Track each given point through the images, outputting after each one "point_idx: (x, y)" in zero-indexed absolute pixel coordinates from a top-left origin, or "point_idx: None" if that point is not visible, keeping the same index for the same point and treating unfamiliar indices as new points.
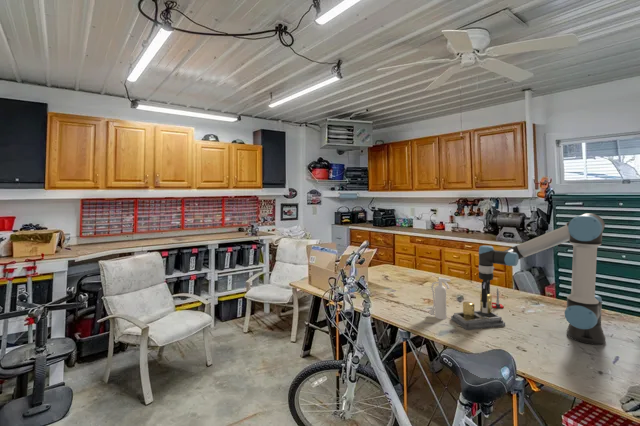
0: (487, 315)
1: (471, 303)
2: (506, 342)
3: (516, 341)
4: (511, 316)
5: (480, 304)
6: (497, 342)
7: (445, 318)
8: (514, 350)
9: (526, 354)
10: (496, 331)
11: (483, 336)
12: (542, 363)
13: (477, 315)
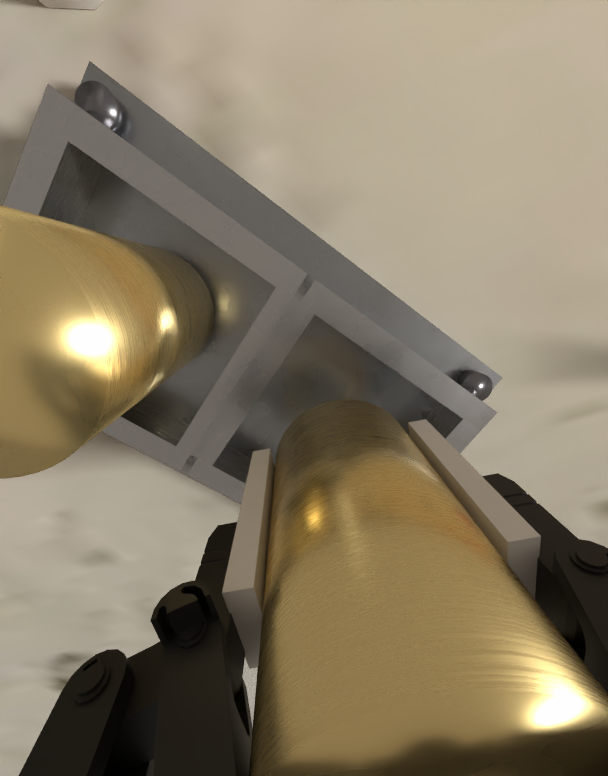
0: (419, 406)
1: (17, 408)
2: (76, 610)
3: (143, 637)
4: (570, 508)
5: (308, 463)
6: (24, 580)
7: (65, 5)
8: (15, 660)
9: (28, 699)
10: (193, 524)
11: (24, 494)
12: (6, 750)
13: (230, 389)
